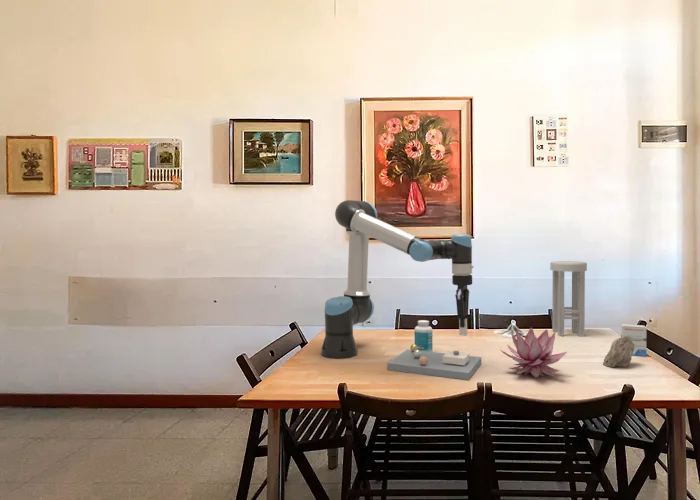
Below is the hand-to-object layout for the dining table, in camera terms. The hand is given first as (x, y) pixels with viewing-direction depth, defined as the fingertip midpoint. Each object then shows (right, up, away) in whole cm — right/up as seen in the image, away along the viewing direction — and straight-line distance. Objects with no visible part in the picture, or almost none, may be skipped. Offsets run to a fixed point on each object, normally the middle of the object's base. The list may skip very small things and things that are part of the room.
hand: (463, 335), depth 182 cm
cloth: (+36, -9, +48) cm, 61 cm away
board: (-12, -11, -5) cm, 17 cm away
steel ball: (-18, -7, -2) cm, 20 cm away
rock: (+57, -10, -6) cm, 58 cm away
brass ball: (-18, -7, +7) cm, 21 cm away
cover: (-5, -8, -8) cm, 13 cm away
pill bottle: (-13, -11, +15) cm, 22 cm away
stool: (+62, -8, +47) cm, 78 cm away
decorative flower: (+21, -11, -15) cm, 28 cm away
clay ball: (-17, -7, -11) cm, 22 cm away
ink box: (+71, -10, +8) cm, 72 cm away
